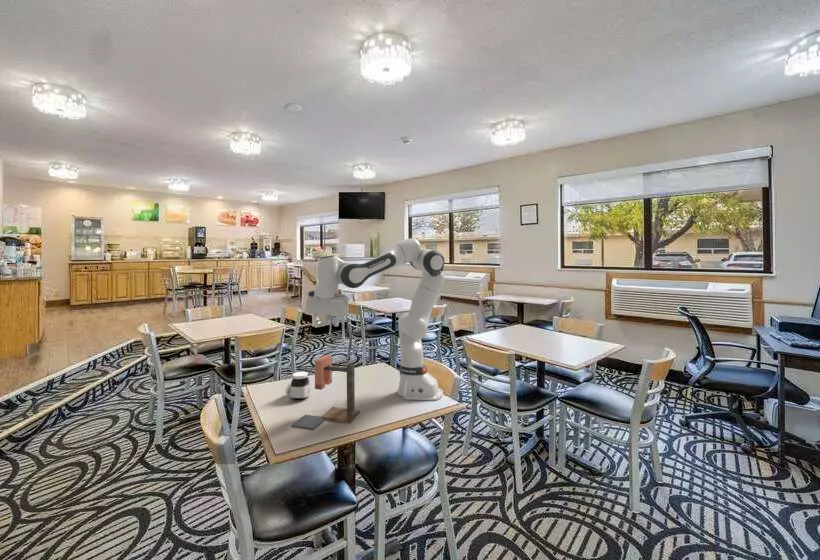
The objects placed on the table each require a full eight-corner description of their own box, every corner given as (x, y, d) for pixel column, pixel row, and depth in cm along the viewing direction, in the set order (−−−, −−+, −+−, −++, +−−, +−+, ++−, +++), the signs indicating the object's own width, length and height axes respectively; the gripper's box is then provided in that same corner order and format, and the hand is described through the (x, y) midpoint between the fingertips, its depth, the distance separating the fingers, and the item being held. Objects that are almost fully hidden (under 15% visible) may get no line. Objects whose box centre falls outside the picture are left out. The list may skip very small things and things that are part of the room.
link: (331, 382, 157) (331, 355, 156) (321, 389, 148) (321, 361, 147) (325, 381, 157) (325, 354, 157) (314, 388, 149) (314, 360, 148)
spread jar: (305, 402, 166) (305, 377, 165) (280, 402, 166) (280, 377, 165) (312, 392, 178) (312, 369, 177) (289, 392, 178) (289, 369, 177)
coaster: (326, 418, 149) (326, 417, 149) (313, 429, 139) (313, 428, 139) (305, 415, 151) (305, 414, 151) (291, 426, 142) (291, 425, 142)
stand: (360, 413, 154) (359, 361, 153) (350, 423, 145) (349, 368, 143) (324, 408, 159) (323, 358, 158) (312, 418, 149) (311, 365, 148)
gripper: (352, 294, 153) (351, 326, 154) (313, 291, 161) (312, 321, 162) (343, 295, 148) (343, 328, 148) (303, 292, 156) (303, 323, 156)
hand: (327, 325), depth 155 cm, fingers open, 8 cm apart
